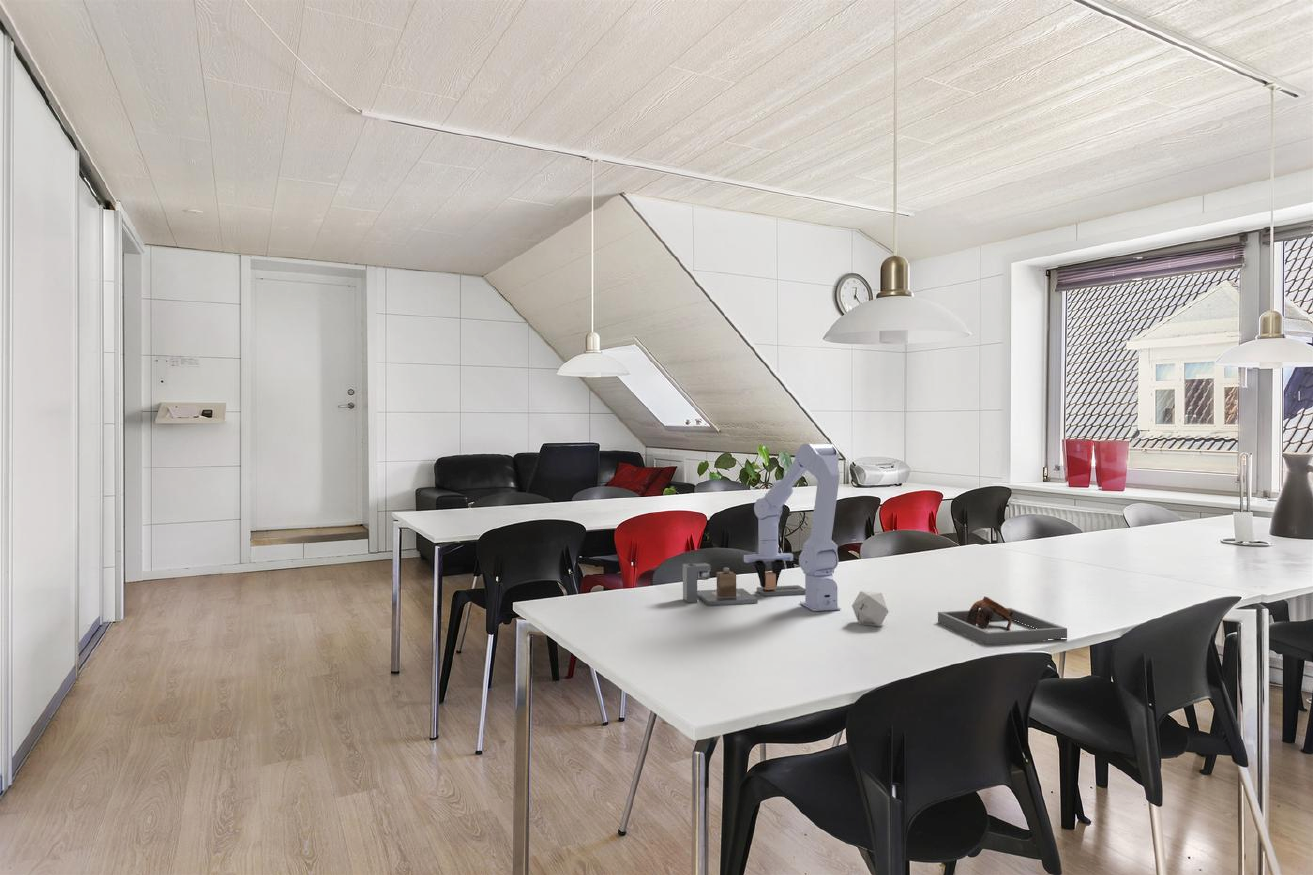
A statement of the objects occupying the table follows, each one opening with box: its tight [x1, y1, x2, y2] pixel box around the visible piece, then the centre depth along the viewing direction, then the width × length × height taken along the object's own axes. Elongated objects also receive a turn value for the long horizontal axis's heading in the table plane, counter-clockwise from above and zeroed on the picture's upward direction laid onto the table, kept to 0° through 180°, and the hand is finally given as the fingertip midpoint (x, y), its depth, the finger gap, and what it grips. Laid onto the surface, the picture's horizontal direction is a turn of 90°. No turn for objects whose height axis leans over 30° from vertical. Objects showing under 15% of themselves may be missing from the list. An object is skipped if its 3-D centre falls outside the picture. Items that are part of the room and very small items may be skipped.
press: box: [682, 562, 759, 607], centre depth 215 cm, size 14×19×10 cm
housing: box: [716, 567, 737, 597], centre depth 215 cm, size 4×4×8 cm
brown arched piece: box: [966, 596, 1013, 631], centre depth 182 cm, size 12×10×8 cm
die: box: [851, 590, 889, 627], centre depth 187 cm, size 8×9×10 cm
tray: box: [937, 607, 1068, 646], centre depth 180 cm, size 20×20×2 cm
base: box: [756, 584, 805, 597], centre depth 223 cm, size 7×13×1 cm, turn 101°
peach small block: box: [761, 570, 776, 590], centre depth 222 cm, size 4×3×4 cm
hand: (768, 586), depth 222 cm, fingers closed on peach small block, 3 cm apart
